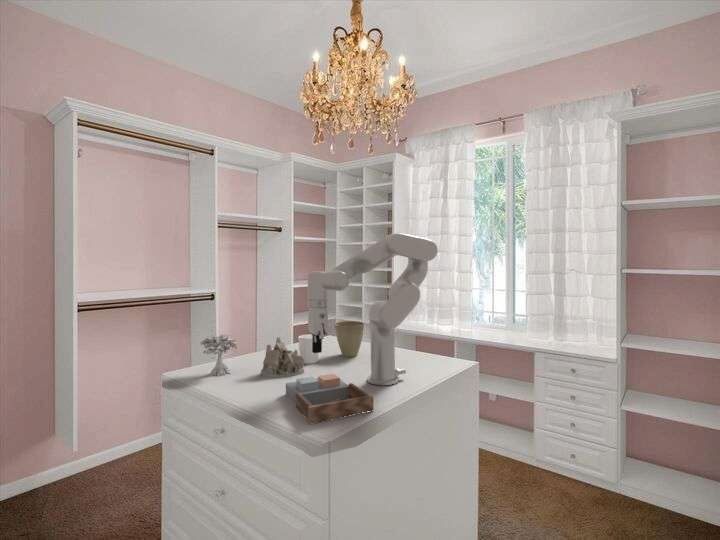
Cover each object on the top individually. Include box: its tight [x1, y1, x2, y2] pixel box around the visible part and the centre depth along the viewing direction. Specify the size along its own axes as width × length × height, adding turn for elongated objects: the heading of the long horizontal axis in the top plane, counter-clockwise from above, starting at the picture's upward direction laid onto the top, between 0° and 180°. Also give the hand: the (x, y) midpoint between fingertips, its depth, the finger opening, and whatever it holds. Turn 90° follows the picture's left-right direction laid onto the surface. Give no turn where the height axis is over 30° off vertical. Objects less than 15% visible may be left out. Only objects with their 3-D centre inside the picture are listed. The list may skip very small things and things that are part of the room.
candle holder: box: [297, 333, 319, 365], centre depth 192 cm, size 10×10×12 cm
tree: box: [200, 333, 238, 377], centre depth 174 cm, size 18×16×17 cm
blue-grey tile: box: [296, 376, 319, 391], centre depth 142 cm, size 6×6×2 cm
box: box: [295, 383, 374, 425], centre depth 132 cm, size 21×15×5 cm
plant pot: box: [334, 320, 365, 358], centre depth 203 cm, size 15×15×16 cm
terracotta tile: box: [317, 373, 341, 387], centre depth 146 cm, size 6×6×2 cm
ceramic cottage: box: [259, 336, 305, 379], centre depth 173 cm, size 16×16×15 cm
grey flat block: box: [285, 377, 350, 405], centre depth 145 cm, size 19×14×4 cm
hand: (316, 352), depth 154 cm, fingers closed
